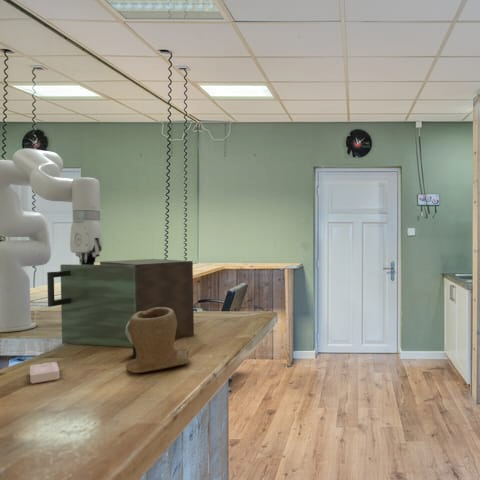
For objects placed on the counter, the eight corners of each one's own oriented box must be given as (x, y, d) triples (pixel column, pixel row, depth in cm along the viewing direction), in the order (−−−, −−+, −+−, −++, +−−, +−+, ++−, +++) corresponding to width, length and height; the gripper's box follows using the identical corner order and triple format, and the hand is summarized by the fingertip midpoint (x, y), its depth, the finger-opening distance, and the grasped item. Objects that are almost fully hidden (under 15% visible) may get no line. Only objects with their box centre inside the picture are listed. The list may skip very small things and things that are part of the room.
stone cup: (129, 381, 104) (128, 315, 103) (123, 368, 114) (122, 308, 113) (198, 369, 112) (197, 308, 112) (187, 358, 122) (186, 302, 122)
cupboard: (138, 346, 136) (136, 264, 135) (101, 335, 152) (99, 261, 152) (193, 335, 149) (192, 261, 149) (154, 326, 166) (153, 258, 166)
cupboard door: (116, 353, 128) (114, 266, 128) (41, 348, 135) (39, 266, 134) (136, 346, 135) (135, 264, 135) (64, 342, 142) (63, 264, 142)
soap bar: (30, 384, 102) (30, 373, 102) (29, 374, 109) (29, 364, 109) (59, 380, 105) (59, 369, 105) (56, 370, 112) (56, 360, 112)
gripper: (60, 217, 145) (61, 275, 145) (89, 216, 138) (90, 276, 138) (84, 218, 152) (85, 273, 152) (112, 216, 145) (114, 274, 145)
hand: (87, 274), depth 145 cm, fingers closed
